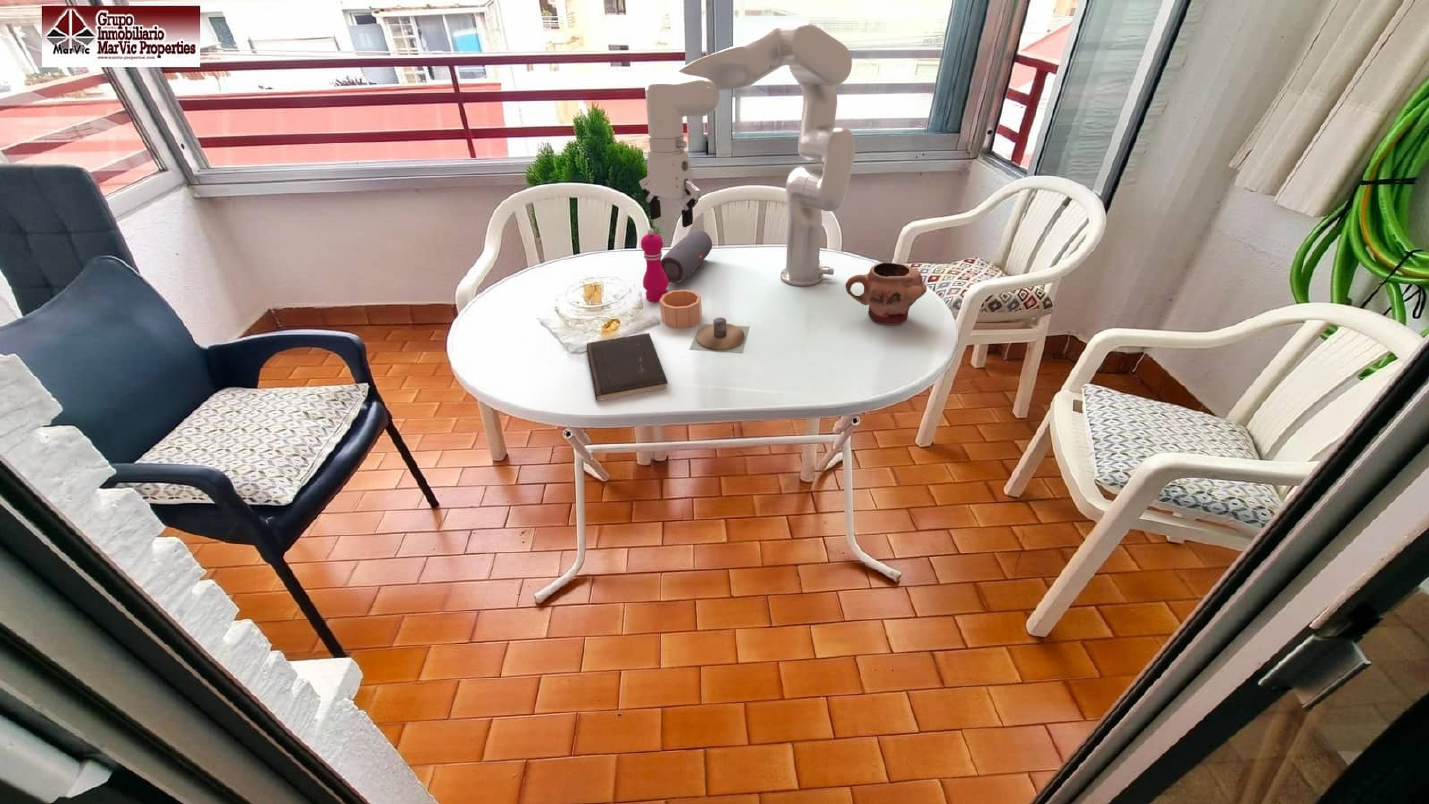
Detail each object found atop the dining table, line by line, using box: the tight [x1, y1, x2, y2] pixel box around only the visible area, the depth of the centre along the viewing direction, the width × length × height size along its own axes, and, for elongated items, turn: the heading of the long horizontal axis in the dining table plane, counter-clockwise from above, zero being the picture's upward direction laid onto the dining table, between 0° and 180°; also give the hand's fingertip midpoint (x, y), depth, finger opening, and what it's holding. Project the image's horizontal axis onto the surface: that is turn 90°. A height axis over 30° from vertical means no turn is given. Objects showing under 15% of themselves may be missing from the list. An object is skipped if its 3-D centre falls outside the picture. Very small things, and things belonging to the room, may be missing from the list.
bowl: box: [659, 289, 703, 329], centre depth 152 cm, size 10×11×6 cm
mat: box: [689, 323, 750, 354], centre depth 145 cm, size 13×13×1 cm
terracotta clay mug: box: [844, 262, 928, 326], centre depth 147 cm, size 20×12×14 cm, turn 89°
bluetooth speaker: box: [661, 229, 713, 284], centre depth 175 cm, size 23×9×10 cm, turn 159°
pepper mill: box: [640, 228, 670, 303], centre depth 159 cm, size 7×7×20 cm
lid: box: [695, 317, 744, 350], centre depth 143 cm, size 12×12×5 cm
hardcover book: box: [585, 332, 669, 402], centre depth 135 cm, size 16×23×2 cm
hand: (671, 221), depth 136 cm, fingers open, 9 cm apart
